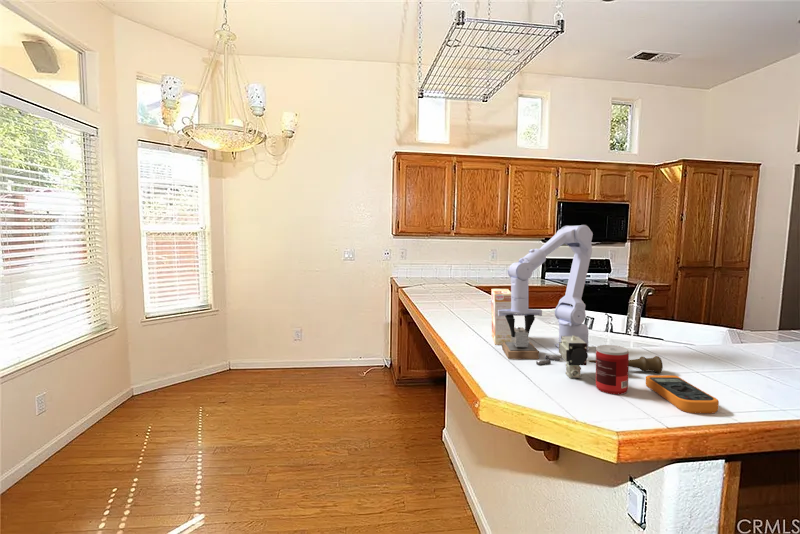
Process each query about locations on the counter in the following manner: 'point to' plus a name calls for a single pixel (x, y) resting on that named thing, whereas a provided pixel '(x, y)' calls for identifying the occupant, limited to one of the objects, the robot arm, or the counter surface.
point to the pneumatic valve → (573, 354)
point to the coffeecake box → (500, 323)
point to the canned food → (612, 369)
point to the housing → (520, 337)
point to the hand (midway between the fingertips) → (519, 336)
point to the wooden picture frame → (520, 351)
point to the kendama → (645, 364)
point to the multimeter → (682, 394)
